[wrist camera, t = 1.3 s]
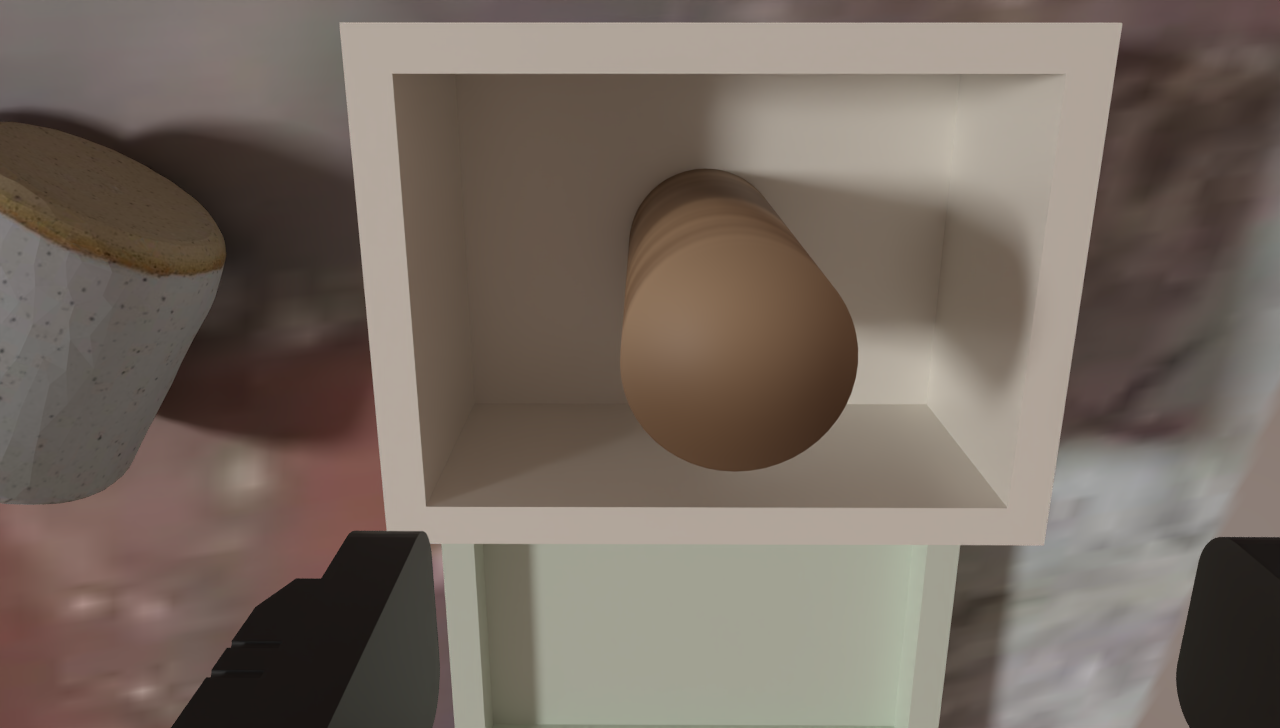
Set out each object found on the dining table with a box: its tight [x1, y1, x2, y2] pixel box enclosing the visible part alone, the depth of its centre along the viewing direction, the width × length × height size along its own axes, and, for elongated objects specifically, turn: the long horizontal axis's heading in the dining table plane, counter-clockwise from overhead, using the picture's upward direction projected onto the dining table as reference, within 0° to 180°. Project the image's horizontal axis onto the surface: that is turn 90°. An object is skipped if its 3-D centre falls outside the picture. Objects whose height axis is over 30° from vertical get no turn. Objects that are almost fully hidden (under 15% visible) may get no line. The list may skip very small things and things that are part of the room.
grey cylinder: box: [0, 122, 226, 505], centre depth 26 cm, size 11×8×8 cm
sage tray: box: [441, 544, 960, 728], centre depth 32 cm, size 10×16×2 cm, turn 90°
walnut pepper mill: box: [620, 168, 858, 472], centre depth 23 cm, size 4×4×11 cm
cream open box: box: [340, 23, 1122, 545], centre depth 25 cm, size 12×16×8 cm
